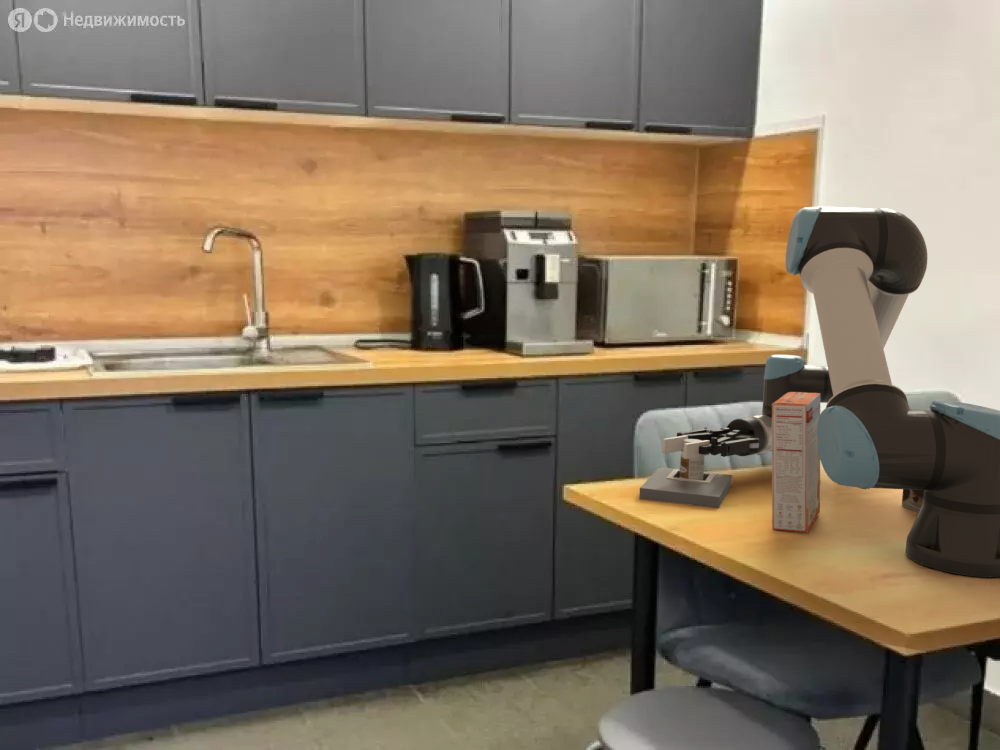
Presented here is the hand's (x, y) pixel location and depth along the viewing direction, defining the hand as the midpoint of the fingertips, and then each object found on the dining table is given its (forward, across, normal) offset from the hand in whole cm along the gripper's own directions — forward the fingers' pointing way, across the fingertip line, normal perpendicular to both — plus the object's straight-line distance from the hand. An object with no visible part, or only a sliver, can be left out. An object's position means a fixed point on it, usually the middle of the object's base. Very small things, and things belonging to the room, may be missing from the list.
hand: (674, 448), depth 174 cm
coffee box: (-28, -35, -8) cm, 46 cm away
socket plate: (-2, -2, -8) cm, 8 cm away
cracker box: (-1, -25, -8) cm, 27 cm away
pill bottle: (-5, 0, -7) cm, 9 cm away
